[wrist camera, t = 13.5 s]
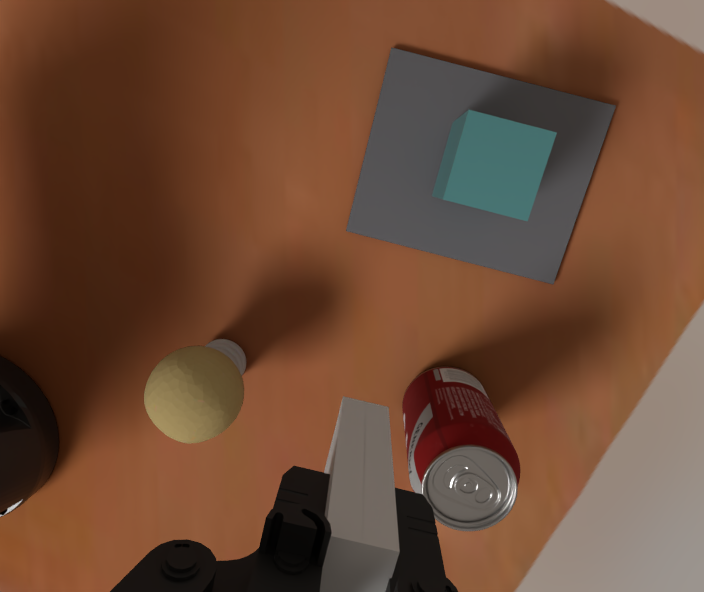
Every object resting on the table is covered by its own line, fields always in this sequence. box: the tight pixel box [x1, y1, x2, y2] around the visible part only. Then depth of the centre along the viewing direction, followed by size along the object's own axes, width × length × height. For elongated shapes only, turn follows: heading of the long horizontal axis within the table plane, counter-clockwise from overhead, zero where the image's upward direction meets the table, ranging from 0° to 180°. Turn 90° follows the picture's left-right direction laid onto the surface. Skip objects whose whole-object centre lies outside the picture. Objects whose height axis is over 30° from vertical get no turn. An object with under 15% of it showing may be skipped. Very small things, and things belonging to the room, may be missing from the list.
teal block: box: [432, 110, 557, 221], centre depth 33 cm, size 5×5×7 cm
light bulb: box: [144, 339, 246, 443], centre depth 37 cm, size 6×6×10 cm
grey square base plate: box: [346, 48, 616, 284], centre depth 34 cm, size 16×13×7 cm
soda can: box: [402, 366, 520, 531], centre depth 35 cm, size 7×7×12 cm
